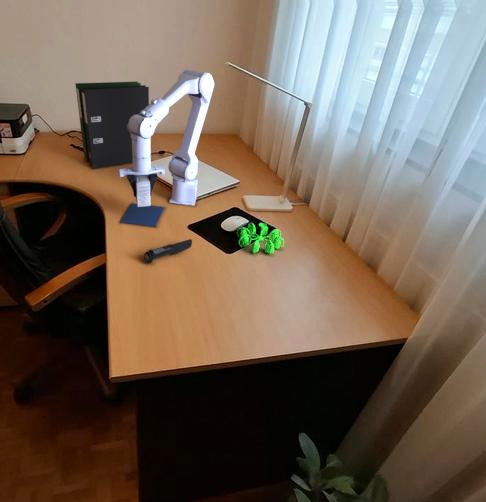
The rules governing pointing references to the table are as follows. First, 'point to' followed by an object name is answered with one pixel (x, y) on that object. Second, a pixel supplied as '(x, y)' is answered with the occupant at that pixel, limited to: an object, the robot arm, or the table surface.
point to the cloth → (142, 215)
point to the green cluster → (260, 238)
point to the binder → (109, 120)
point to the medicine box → (142, 190)
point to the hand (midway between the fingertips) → (142, 195)
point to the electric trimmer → (166, 250)
